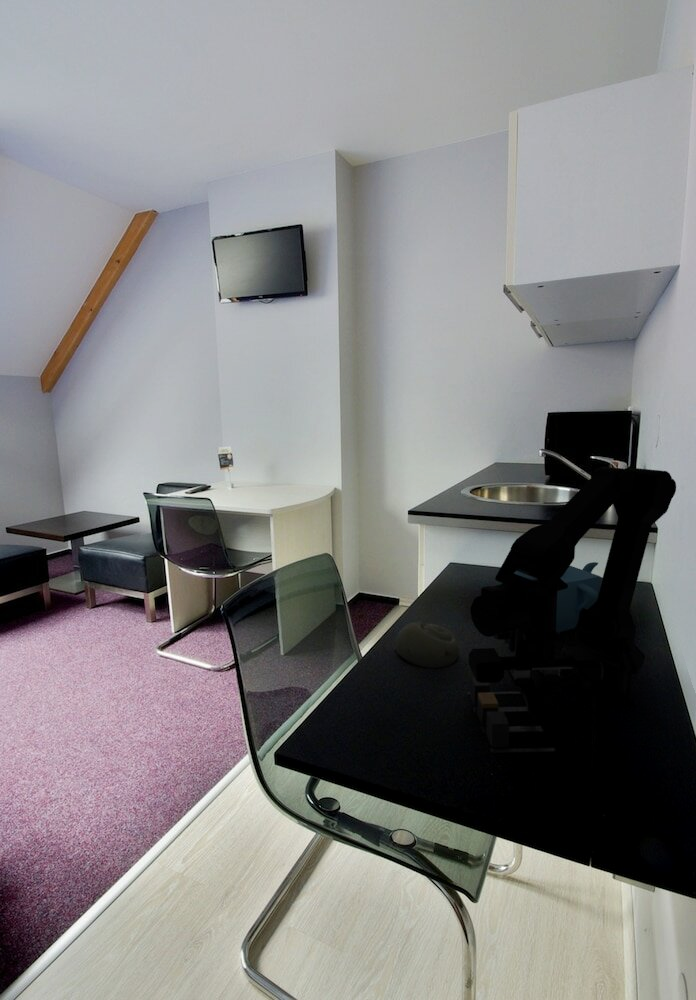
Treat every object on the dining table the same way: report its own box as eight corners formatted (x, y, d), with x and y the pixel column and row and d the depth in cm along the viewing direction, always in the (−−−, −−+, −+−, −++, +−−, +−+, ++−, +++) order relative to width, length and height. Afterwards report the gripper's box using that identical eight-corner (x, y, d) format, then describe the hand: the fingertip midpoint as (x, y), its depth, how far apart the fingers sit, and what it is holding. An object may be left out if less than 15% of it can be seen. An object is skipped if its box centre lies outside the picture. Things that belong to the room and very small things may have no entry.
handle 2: (502, 733, 74) (503, 711, 73) (508, 747, 71) (509, 723, 70) (485, 734, 74) (486, 711, 73) (491, 747, 71) (492, 724, 70)
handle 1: (484, 695, 84) (484, 675, 83) (489, 706, 81) (489, 685, 80) (470, 696, 84) (470, 676, 83) (474, 706, 81) (474, 685, 80)
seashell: (459, 619, 100) (453, 633, 91) (462, 658, 101) (455, 676, 91) (398, 617, 105) (385, 631, 95) (400, 655, 105) (388, 672, 95)
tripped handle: (492, 713, 79) (493, 692, 78) (497, 725, 76) (498, 703, 75) (477, 714, 79) (477, 692, 78) (482, 725, 76) (482, 703, 75)
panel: (544, 696, 86) (544, 689, 85) (588, 761, 70) (589, 752, 70) (439, 698, 86) (439, 691, 85) (460, 763, 70) (460, 754, 70)
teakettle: (600, 647, 103) (605, 579, 100) (505, 633, 110) (508, 569, 107) (594, 613, 120) (598, 554, 117) (512, 602, 127) (515, 547, 124)
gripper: (574, 598, 82) (569, 684, 85) (461, 601, 83) (460, 686, 86) (608, 627, 71) (601, 725, 74) (478, 630, 72) (476, 727, 75)
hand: (531, 714), depth 77 cm, fingers closed
